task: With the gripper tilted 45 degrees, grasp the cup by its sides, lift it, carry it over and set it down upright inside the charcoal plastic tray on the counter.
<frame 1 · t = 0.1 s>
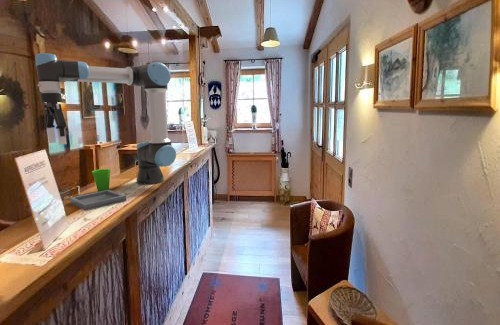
hand: (57, 143, 137), 28 cm above the table, tool pointing down, fingers open, 13 cm apart
cup: (103, 191, 167), on the table
tray: (98, 201, 148), on the table
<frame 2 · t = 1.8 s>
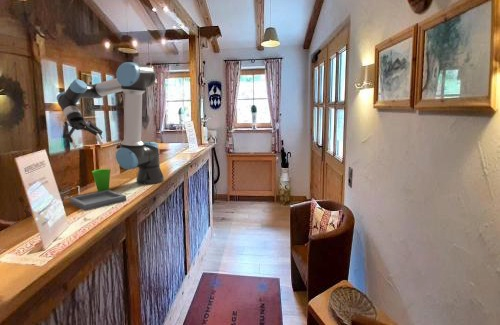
hand: (89, 145, 169), 24 cm above the table, tool tilted 45°, fingers open, 13 cm apart
nothing on the table moved.
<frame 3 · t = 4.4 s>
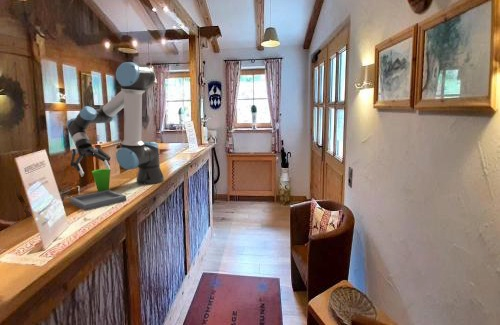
hand: (96, 172, 168), 9 cm above the table, tool tilted 45°, fingers open, 13 cm apart
nothing on the table moved.
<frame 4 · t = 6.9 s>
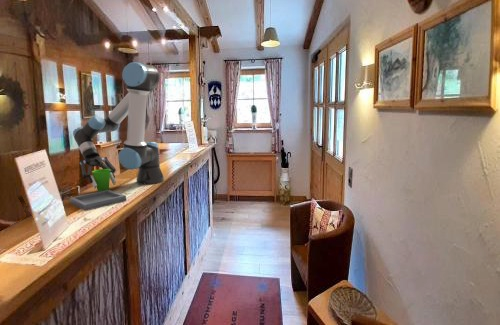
hand: (105, 185, 164), 4 cm above the table, tool tilted 45°, fingers closed on cup, 9 cm apart
cup: (103, 191, 167), on the table, touching gripper
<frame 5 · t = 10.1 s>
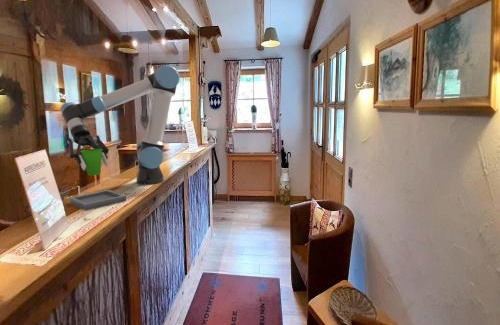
hand: (96, 166, 143), 17 cm above the table, tool tilted 45°, fingers closed on cup, 9 cm apart
cup: (94, 174, 146), point 13 cm above the table, touching gripper
when the fingers open (6 cm above the table, at t = 13.1 s): cup stays where it is, resting on tray.
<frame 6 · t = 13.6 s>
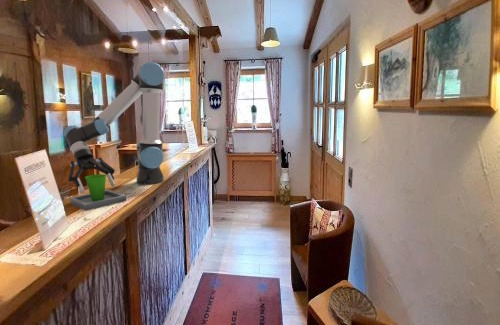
hand: (98, 188, 145), 7 cm above the table, tool tilted 45°, fingers open, 13 cm apart
cup: (98, 200, 148), point 1 cm above the table, touching tray
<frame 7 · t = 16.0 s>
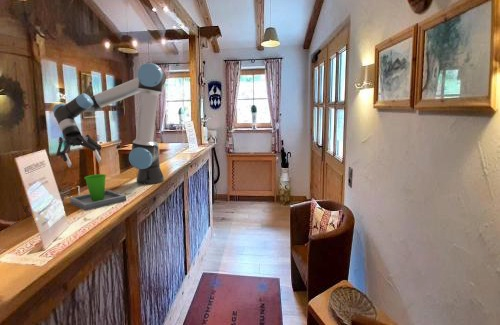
hand: (85, 163, 153), 17 cm above the table, tool tilted 45°, fingers open, 13 cm apart
nothing on the table moved.
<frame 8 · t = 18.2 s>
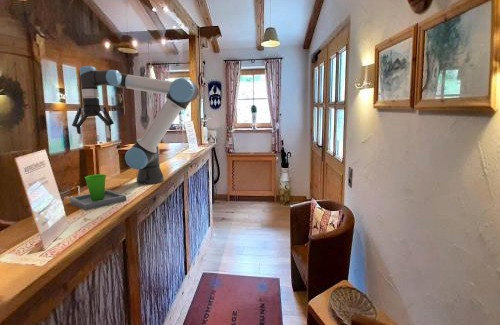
hand: (95, 139, 169), 27 cm above the table, tool pointing down, fingers open, 13 cm apart
nothing on the table moved.
at the end: cup inside the target area on the tray (0.1 cm from its centre), point 0.8 cm above the tray's base; cup tilted 0°; the gripper is holding nothing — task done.
